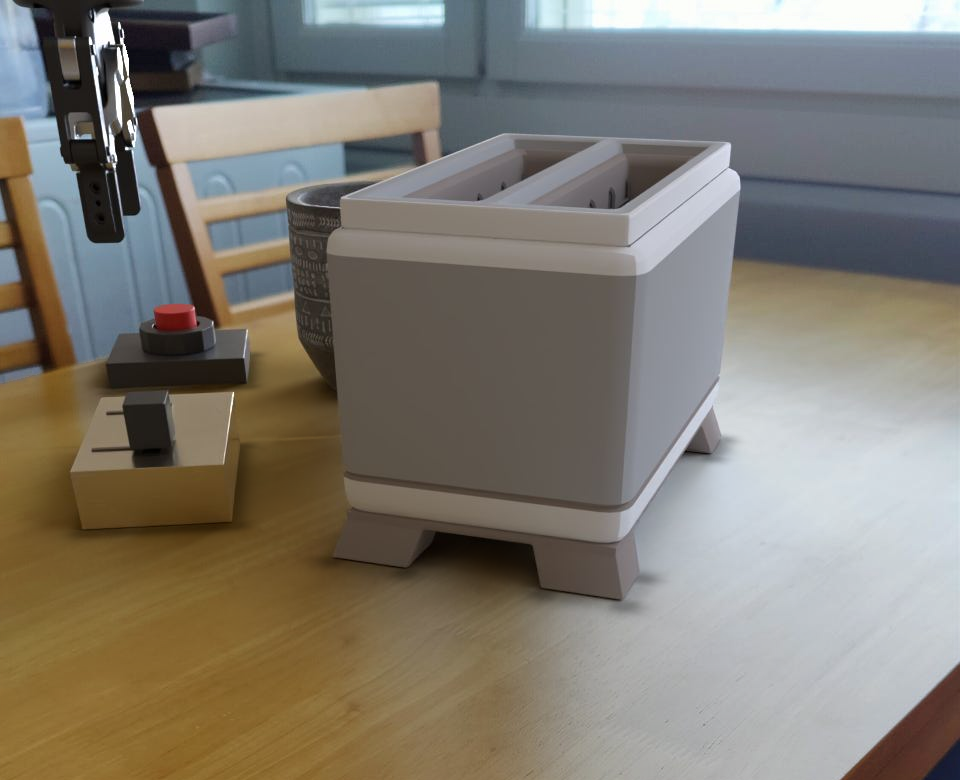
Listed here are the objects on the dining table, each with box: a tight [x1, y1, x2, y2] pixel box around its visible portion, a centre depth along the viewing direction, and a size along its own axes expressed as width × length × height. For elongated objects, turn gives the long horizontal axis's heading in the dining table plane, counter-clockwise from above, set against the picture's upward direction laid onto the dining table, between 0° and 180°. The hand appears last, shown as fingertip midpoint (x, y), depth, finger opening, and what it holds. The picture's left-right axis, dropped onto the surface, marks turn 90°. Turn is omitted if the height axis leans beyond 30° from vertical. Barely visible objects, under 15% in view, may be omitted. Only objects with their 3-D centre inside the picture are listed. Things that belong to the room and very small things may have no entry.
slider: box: [122, 389, 175, 450], centre depth 82 cm, size 3×3×3 cm
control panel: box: [69, 391, 241, 530], centre depth 87 cm, size 10×16×4 cm, turn 7°
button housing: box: [105, 315, 251, 390], centre depth 110 cm, size 12×10×4 cm
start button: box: [153, 303, 197, 331], centre depth 109 cm, size 4×4×2 cm
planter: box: [285, 179, 385, 392], centre depth 104 cm, size 14×14×15 cm
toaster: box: [327, 133, 741, 601], centre depth 82 cm, size 19×34×20 cm, turn 160°
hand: (116, 228), depth 76 cm, fingers open, 8 cm apart
